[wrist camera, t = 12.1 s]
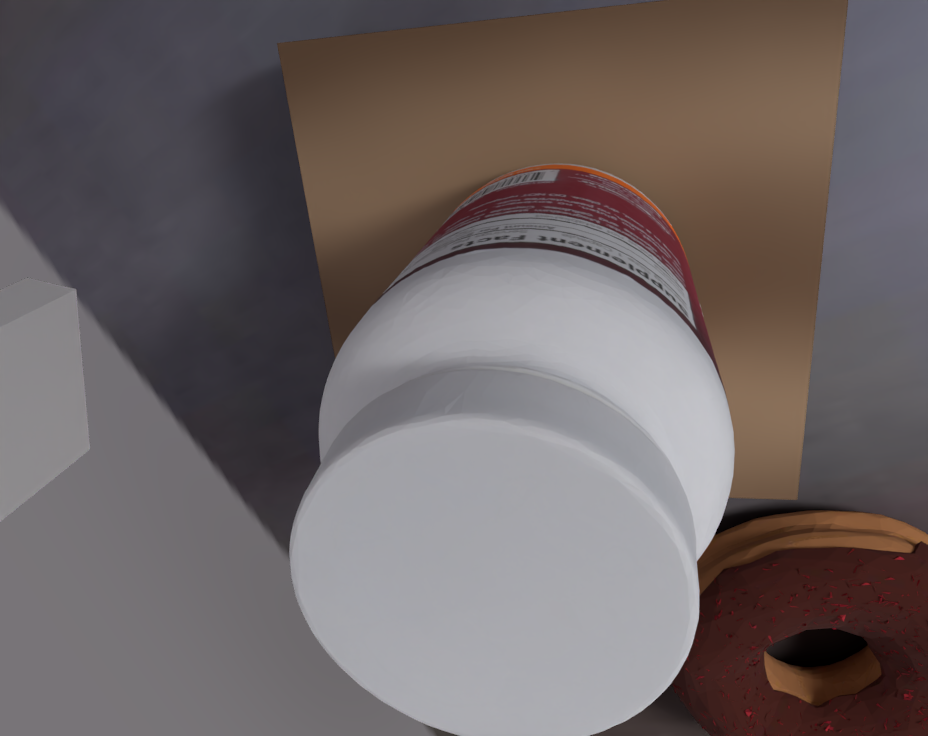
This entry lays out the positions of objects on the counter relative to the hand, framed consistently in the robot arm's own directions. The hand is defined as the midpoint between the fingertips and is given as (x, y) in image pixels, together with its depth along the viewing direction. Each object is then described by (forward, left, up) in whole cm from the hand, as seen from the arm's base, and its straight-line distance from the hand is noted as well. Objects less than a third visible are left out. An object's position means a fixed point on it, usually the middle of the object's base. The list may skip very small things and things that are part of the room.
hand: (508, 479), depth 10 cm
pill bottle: (0, 0, -9) cm, 9 cm away
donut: (+11, +11, -13) cm, 20 cm away
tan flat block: (0, 0, -13) cm, 13 cm away
